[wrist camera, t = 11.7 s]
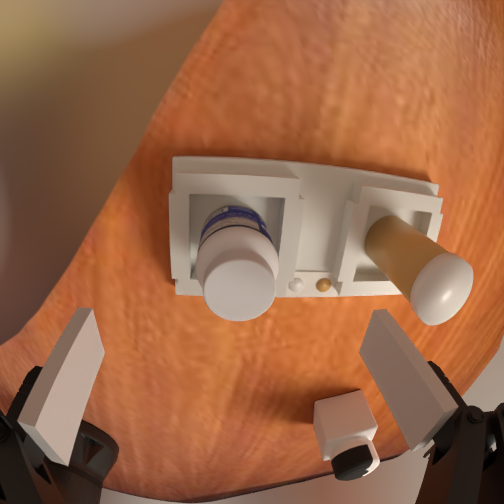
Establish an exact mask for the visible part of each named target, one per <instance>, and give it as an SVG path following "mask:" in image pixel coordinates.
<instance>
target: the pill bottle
mask: <svg viewBox="0 0 504 504" xmlns="http://www.w3.org/2000/svg"><path fill="white" fill-rule="evenodd" d="M278 271H279V260H278V255H277V252H276V249H275V247H274V244H273V242H272V239H271V237H270V234H269V232H268V229H267V227H266V224H265V222H264V220H263V219H262V217H261V216H260V215H259V214H258V213H257V212H256V211H255V210H253V209H252V208H250V207H248V206H245V205H241V204H228V205H224V206H221V207H219V208H217V209H216V210H214V211H213V212H212V213H211V214H210V215H209V216H208V217H207V219H206V220H205V222H204V225H203V228H202V232H201V238H200V244H199V248H198V253H197V258H196V276H197V279H198V282H199V284H200V286H201V287H202V289H203V296H204V300H205V302H206V304H207V306H208V307H209V308H210V310H211V311H212V312H214V313H215V314H216V315H218V316H220V317H221V318H224V319H227V320H231V321H246V320H250V319H253V318H256V317H258V316H260V315H261V314H263V313H264V312H265V311H266V310H267V309H268V308H269V307H270V306H271V304H272V303H273V300H274V298H275V294H276V284H275V281H276V279H277V276H278Z"/></svg>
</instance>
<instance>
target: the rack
mask: <svg viewBox="0 0 504 504" xmlns="http://www.w3.org/2000/svg"><path fill="white" fill-rule="evenodd" d="M438 189H439V185H438V184H436V183H433V182H429V181H424V180H420V179H415V178H409V177H404V176H399V175H393V174H388V173H382V172H376V171H369V170H363V169H356V168H349V167H342V166H334V165H326V164H317V163H308V162H298V161H287V160H275V159H262V158H245V157H223V156H174V157H173V160H172V190H171V191H170V193H169V232H170V256H171V274H172V279H175V287H176V295H198V296H203V289H202V287H201V286H200V284H199V282H198V279H197V276H196V258H197V253H198V248H199V244H200V238H201V232H202V228H203V225H204V222H205V220H206V219H207V217H208V216H209V215H210V214H211V213H212V212H213V211H214V210H216V209H217V208H219V207H221V206H224V205H228V204H241V205H245V206H248V207H250V208H252V209H253V210H255V211H256V212H257V213H258V214H259V215H260V216H261V217H262V219H263V220H264V222H265V224H266V227H267V229H268V232H269V234H270V237H271V239H272V242H273V244H274V247H275V249H276V252H277V255H278V260H279V271H278V276H277V279H276V281H275V284H276V294H275V297H338V296H369V295H395V294H403V295H404V296H405V298H406V299H407V300H408V301H409V302H410V304H411V307H412V309H413V311H414V312H415V313H416V315H417V316H418V317H419V318H420V319H421V321H422V322H423V323H425V324H427V325H438V324H441V323H443V322H445V321H447V320H448V319H450V318H451V317H452V316H454V315H455V314H456V313H457V312H458V311H459V310H460V308H461V307H462V306H463V304H464V303H465V301H466V300H467V298H468V296H469V294H470V291H471V288H472V284H473V270H472V268H471V266H470V264H469V263H467V262H466V261H465V260H463V259H462V258H461V257H459V256H458V255H457V254H455V253H450V252H448V251H447V250H445V249H444V248H443V247H441V246H440V245H438V244H437V243H436V241H437V237H438V233H439V229H440V225H441V221H442V217H443V214H441V213H440V210H441V206H442V201H443V198H441V197H439V196H437V194H438Z"/></svg>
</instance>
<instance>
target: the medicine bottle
mask: <svg viewBox="0 0 504 504" xmlns="http://www.w3.org/2000/svg"><path fill="white" fill-rule="evenodd" d="M313 426H314V430H315V434H316V437H317V441H318V445H319V448H320V452H321V456H322V459H323V460H324V461H325V460H331V464H332V467H333V471H334V474H335V477H336V479H338V480H345V481H348V480H354V479H357V478H360V477H362V476H365V475H367V474H368V473H370V472H372V471H373V470H374V469H375V468H376V467H377V466H378V465H379V462H380V460H379V458H378V455H377V452H376V450H375V447H374V445H373V442H372V439H373V437H374V435H375V432H376V430H377V428H378V425H377V423H376V421H375V418H374V416H373V414H372V412H371V409H370V407H369V405H368V402H367V400H366V398H365V396H364V393H363V391H362V390H358V391H354V392H350V393H346V394H343V395H339V396H335V397H330V398H326V399H322V400H317V401H315V404H314V421H313Z"/></svg>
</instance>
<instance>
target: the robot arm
mask: <svg viewBox="0 0 504 504" xmlns="http://www.w3.org/2000/svg"><path fill="white" fill-rule="evenodd" d="M359 353H360V355H361V357H362V359H363V360H364V362H365V364H366V366H367V368H368V369H369V371H370V373H371V375H372V377H373V379H374V380H375V382H376V384H377V386H378V388H379V390H380V392H381V393H382V395H383V397H384V399H385V401H386V403H387V405H388V407H389V409H390V410H391V412H392V414H393V416H394V418H395V420H396V422H397V424H398V426H399V428H400V430H401V432H402V434H403V436H404V438H405V440H406V442H407V444H408V446H409V448H410V450H411V451H415V450H417V449H420V448H422V447H425V446H426V445H427V444H428V443H429V442H430V441H431V440H432V439H433V440H434V442H435V443H434V445H433V446H432V447H431V448H430V449H429V450H428V451H427V452H426V453H425V454H424V456H423V457H424V458H425V457H426V456H427V455H428V454H429V453H430V457H429V458H428V459H429V461H428V464H427V468H426V471H425V475H424V479H423V482H422V485H421V488H420V491H419V494H418V497H417V500H416V503H415V504H504V403H501V404H500V405H498V407H497V408H496V409H495V410H494V411H490V412H483V411H482V410H481V409H480V408H478V407H476V406H467V405H466V403H465V402H464V401H463V399H462V398H461V396H460V395H459V393H458V392H457V391H456V389H455V388H454V386H453V385H452V384H451V383H450V381H449V380H448V378H447V377H445V374H444V373H443V371H442V370H441V369H440V367H438V366H437V365H436V364H434V363H433V362H432V361H428V362H427V361H426V360H425V359H424V357H423V356H422V355H421V353H420V352H419V350H418V349H417V348H416V347H415V345H414V344H413V343H412V341H411V340H410V339H409V337H408V336H407V335H406V333H405V332H404V331H403V330H402V328H401V327H400V326H399V325H398V323H397V322H396V321H395V319H394V318H393V317H392V316H391V314H390V313H389V312H388V311H387V309H382V310H373V314H372V317H371V320H370V323H369V326H368V328H367V331H366V334H365V337H364V340H363V343H362V345H361V348H360V351H359ZM104 355H105V352H104V348H103V345H102V342H101V338H100V335H99V331H98V328H97V324H96V320H95V316H94V312H93V308H81V307H78V309H77V310H76V312H75V313H74V315H73V317H72V318H71V320H70V321H69V323H68V325H67V326H66V328H65V330H64V331H63V333H62V335H61V336H60V338H59V340H58V342H57V343H56V345H55V347H54V349H53V350H52V352H51V354H50V356H49V358H48V359H47V361H46V363H45V365H44V367H39V366H35V367H34V368H33V369H32V370H31V371H30V372H28V374H27V375H26V377H25V379H24V381H23V385H21V387H20V388H19V392H17V394H16V396H15V398H14V400H13V402H12V404H11V406H10V408H9V411H8V413H7V415H6V416H5V415H4V414H3V412H2V411H1V410H0V504H100V497H101V490H102V485H103V481H104V479H105V478H106V476H107V475H108V473H109V471H110V470H111V468H112V467H113V465H114V464H115V462H116V461H117V458H118V453H119V447H118V445H117V443H116V442H115V441H114V440H113V439H112V438H111V437H110V436H109V435H107V434H106V433H104V432H103V431H101V430H100V429H98V428H96V427H94V426H93V425H91V424H89V423H87V422H84V421H82V420H81V419H82V416H83V413H84V410H85V407H86V404H87V401H88V398H89V395H90V392H91V389H92V387H93V384H94V381H95V378H96V376H97V373H98V370H99V368H100V365H101V362H102V360H103V357H104ZM495 443H496V448H497V449H496V450H495V451H493V450H492V446H493V445H494V444H495Z"/></svg>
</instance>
